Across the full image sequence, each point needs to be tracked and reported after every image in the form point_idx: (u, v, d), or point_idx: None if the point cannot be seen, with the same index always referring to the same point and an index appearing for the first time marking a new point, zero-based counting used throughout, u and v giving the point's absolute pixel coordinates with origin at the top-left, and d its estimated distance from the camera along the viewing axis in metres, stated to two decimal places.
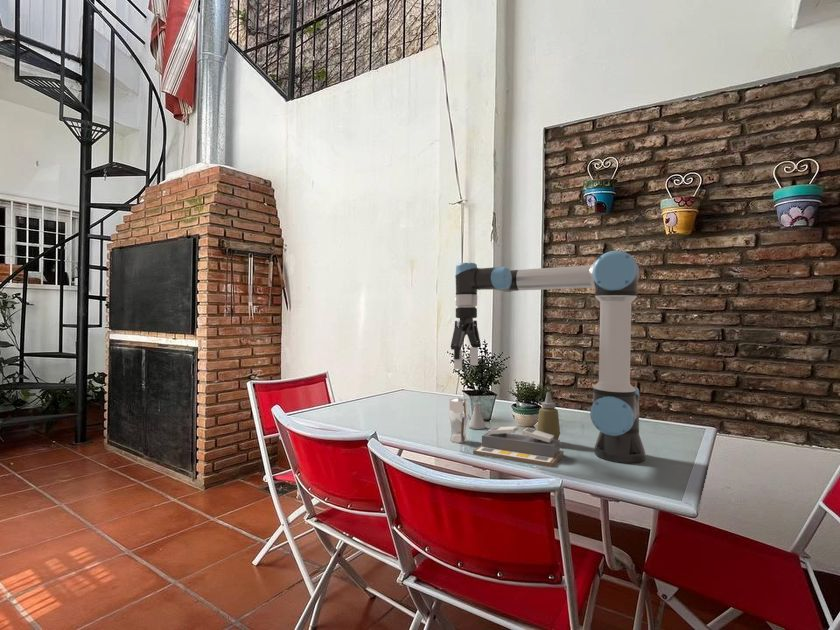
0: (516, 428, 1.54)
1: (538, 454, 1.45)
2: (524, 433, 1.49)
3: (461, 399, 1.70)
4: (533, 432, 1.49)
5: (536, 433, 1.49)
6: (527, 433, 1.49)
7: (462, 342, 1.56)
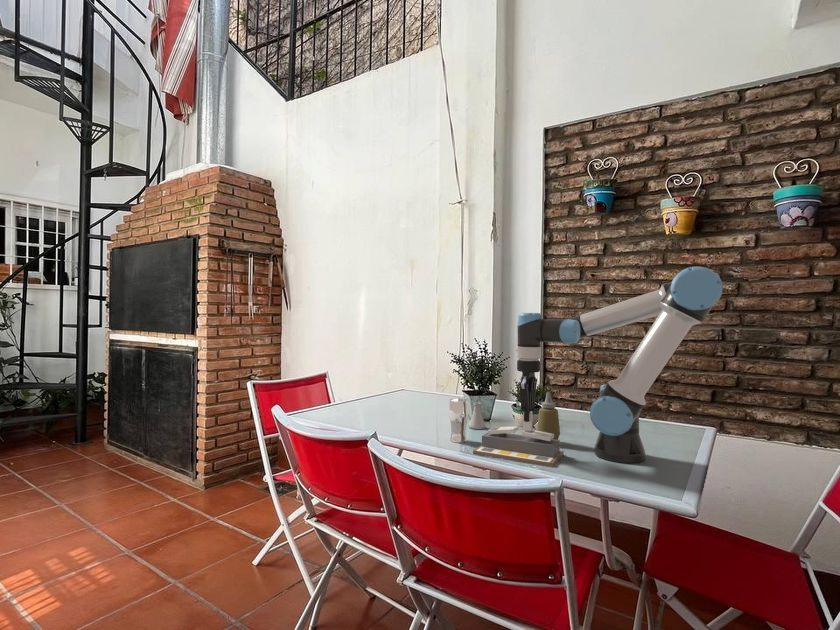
0: (516, 428, 1.54)
1: (538, 454, 1.45)
2: (524, 434, 1.49)
3: (461, 399, 1.70)
4: (533, 433, 1.49)
5: (536, 433, 1.49)
6: (527, 434, 1.49)
7: (530, 402, 1.50)
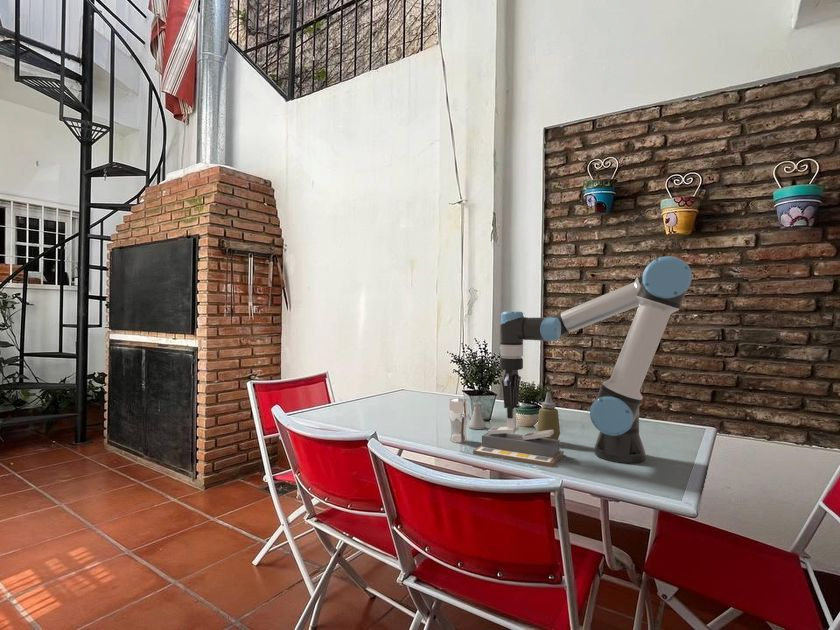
0: (516, 428, 1.54)
1: (538, 454, 1.45)
2: (524, 438, 1.49)
3: (461, 399, 1.70)
4: (532, 434, 1.49)
5: (535, 433, 1.49)
6: (527, 437, 1.49)
7: (513, 399, 1.53)
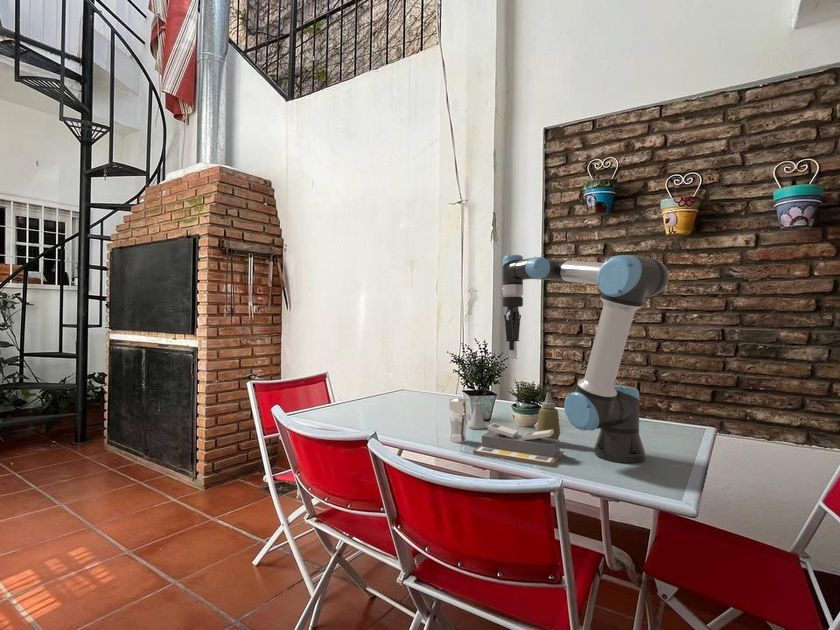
0: (516, 433, 1.54)
1: (538, 454, 1.45)
2: (524, 438, 1.49)
3: (461, 399, 1.70)
4: (532, 434, 1.49)
5: (535, 433, 1.49)
6: (527, 437, 1.49)
7: (514, 332, 1.72)
